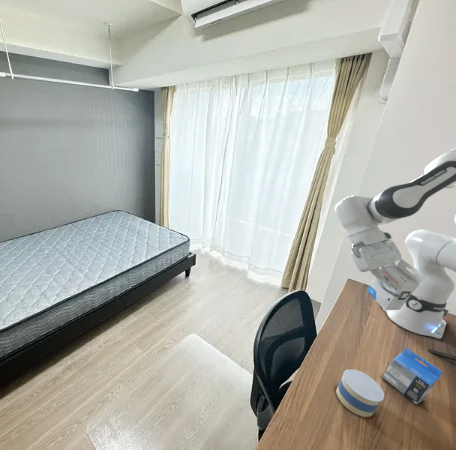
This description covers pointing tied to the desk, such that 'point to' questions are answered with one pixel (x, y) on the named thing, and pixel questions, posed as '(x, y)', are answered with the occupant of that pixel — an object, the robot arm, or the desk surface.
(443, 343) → the desk surface
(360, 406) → the yogurt tub
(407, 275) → the ink box
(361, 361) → the desk surface
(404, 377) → the label tape box
